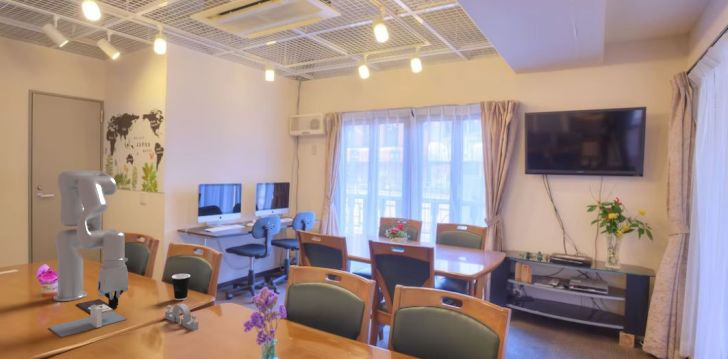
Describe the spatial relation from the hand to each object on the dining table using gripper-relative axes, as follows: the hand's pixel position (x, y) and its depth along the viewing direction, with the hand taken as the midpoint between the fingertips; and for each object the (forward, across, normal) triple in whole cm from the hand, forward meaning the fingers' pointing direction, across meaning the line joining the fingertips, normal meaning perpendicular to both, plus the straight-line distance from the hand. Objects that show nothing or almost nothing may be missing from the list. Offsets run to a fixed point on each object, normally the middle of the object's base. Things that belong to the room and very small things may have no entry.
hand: (113, 307), depth 164 cm
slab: (0, +8, 0) cm, 8 cm away
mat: (+4, +8, -1) cm, 9 cm away
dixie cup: (+4, -30, -2) cm, 30 cm away
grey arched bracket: (+5, -14, +25) cm, 29 cm away
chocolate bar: (+5, -1, -19) cm, 20 cm away
